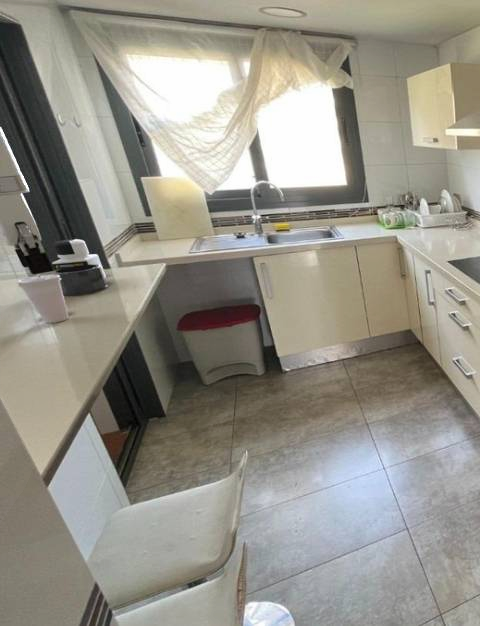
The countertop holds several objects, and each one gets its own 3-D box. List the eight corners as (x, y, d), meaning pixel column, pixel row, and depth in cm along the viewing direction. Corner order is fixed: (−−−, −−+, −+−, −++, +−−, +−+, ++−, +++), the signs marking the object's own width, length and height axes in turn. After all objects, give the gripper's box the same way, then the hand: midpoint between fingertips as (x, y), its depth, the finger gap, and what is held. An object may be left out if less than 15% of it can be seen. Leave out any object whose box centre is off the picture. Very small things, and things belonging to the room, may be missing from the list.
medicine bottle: (61, 288, 123) (43, 244, 118) (74, 281, 129) (57, 239, 124) (96, 285, 125) (79, 241, 121) (107, 278, 131) (91, 236, 127)
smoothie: (45, 327, 97) (16, 263, 92) (29, 323, 100) (0, 261, 94) (83, 316, 103) (58, 256, 98) (67, 313, 105) (41, 253, 100)
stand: (57, 298, 115) (47, 275, 113) (66, 289, 122) (57, 267, 120) (104, 291, 120) (95, 269, 118) (110, 283, 127) (102, 262, 124)
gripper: (-35, 186, 93) (6, 267, 99) (-25, 191, 83) (19, 280, 90) (19, 182, 98) (54, 259, 105) (34, 186, 89) (72, 270, 96)
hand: (38, 269), depth 97 cm, fingers open, 9 cm apart
